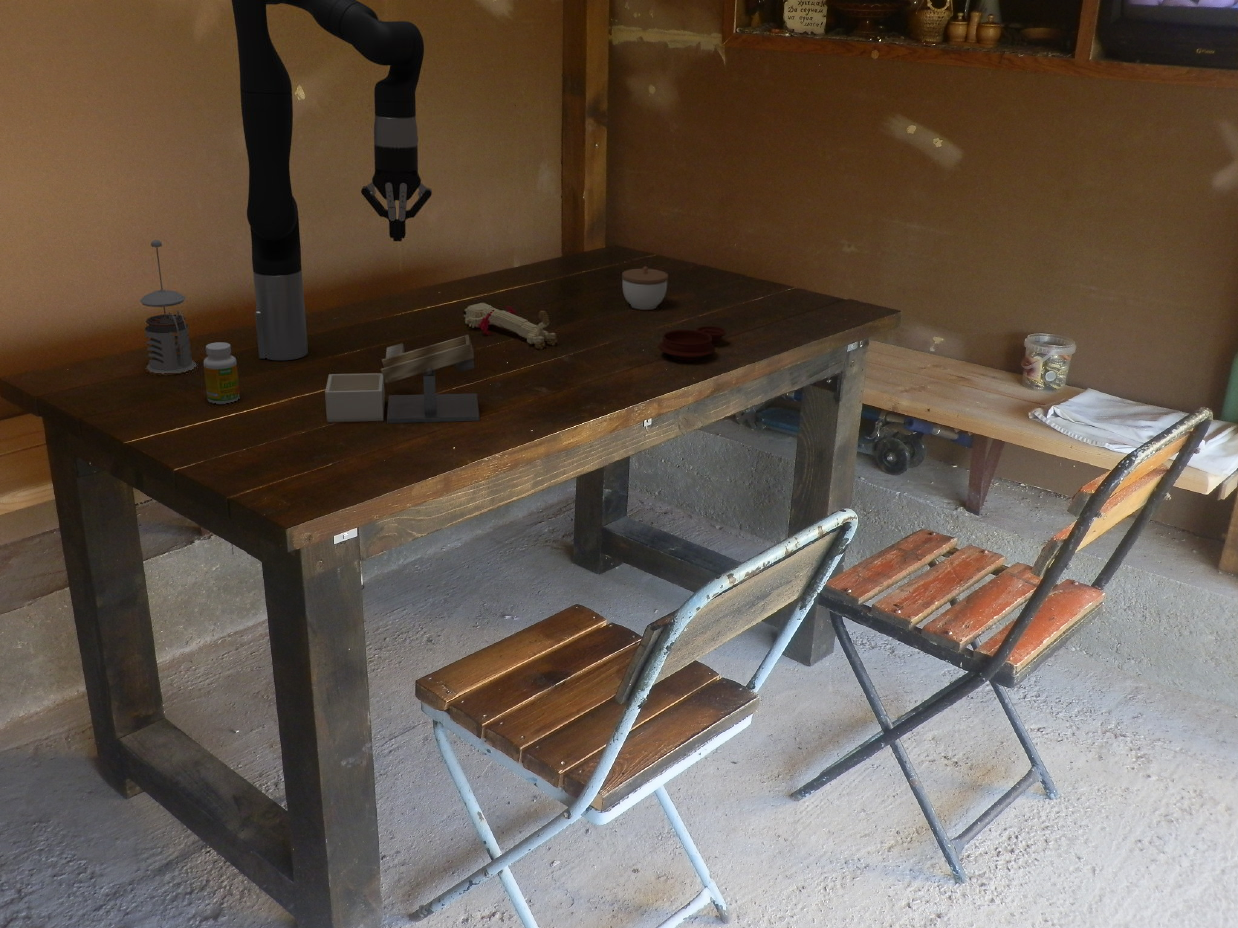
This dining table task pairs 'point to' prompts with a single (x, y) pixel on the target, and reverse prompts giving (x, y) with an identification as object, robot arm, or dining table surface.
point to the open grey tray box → (355, 397)
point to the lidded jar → (644, 287)
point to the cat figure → (510, 323)
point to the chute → (427, 358)
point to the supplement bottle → (221, 374)
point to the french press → (167, 332)
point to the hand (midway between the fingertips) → (397, 240)
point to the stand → (432, 406)
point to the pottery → (691, 342)
